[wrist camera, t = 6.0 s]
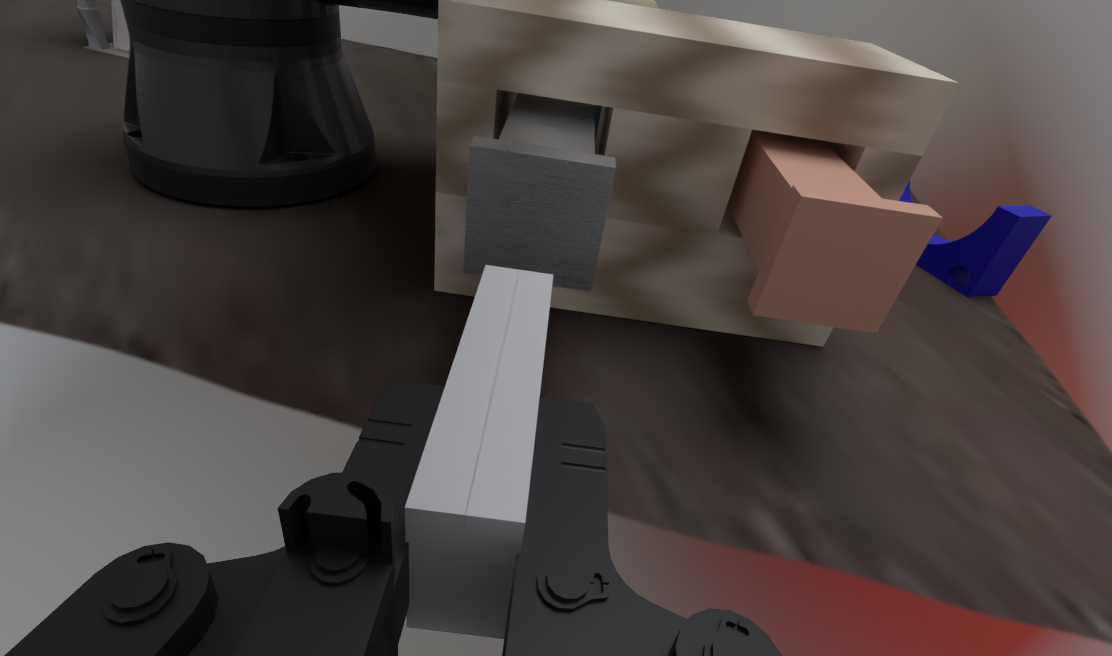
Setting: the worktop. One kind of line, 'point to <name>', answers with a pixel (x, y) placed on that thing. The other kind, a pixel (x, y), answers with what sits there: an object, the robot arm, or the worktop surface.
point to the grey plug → (539, 193)
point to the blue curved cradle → (983, 250)
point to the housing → (671, 137)
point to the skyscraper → (97, 33)
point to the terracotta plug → (822, 235)
